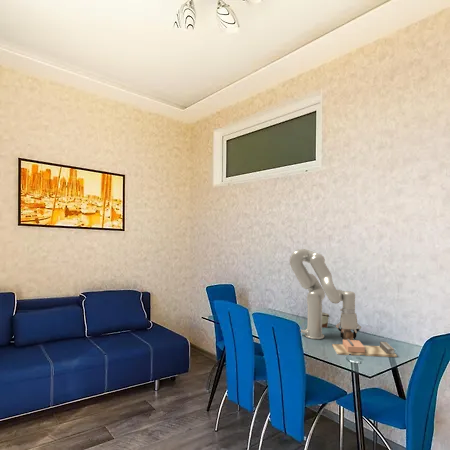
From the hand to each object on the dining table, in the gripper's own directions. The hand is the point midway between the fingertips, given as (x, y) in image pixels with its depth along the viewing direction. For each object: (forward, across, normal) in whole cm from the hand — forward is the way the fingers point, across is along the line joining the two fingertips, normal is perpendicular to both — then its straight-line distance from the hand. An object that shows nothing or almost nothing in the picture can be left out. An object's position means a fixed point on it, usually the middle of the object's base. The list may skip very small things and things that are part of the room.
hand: (348, 338), depth 220 cm
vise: (+2, +4, -16) cm, 17 cm away
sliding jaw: (+1, -1, -16) cm, 16 cm away
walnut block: (+2, 0, 0) cm, 2 cm away
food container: (+2, -12, +32) cm, 34 cm away
